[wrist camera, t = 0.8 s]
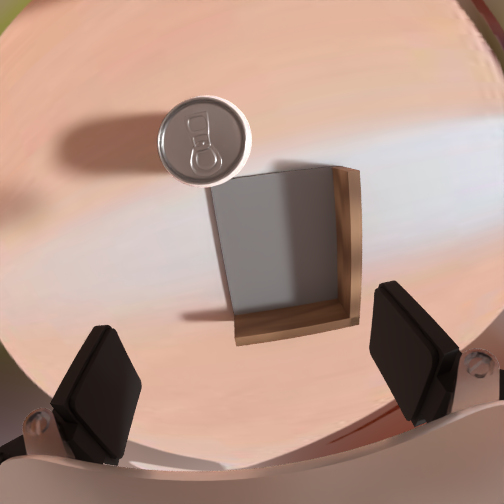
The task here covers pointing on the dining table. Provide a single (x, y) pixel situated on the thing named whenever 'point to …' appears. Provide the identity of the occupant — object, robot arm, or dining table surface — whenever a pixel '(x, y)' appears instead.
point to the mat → (278, 238)
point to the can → (204, 141)
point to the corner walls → (349, 279)
